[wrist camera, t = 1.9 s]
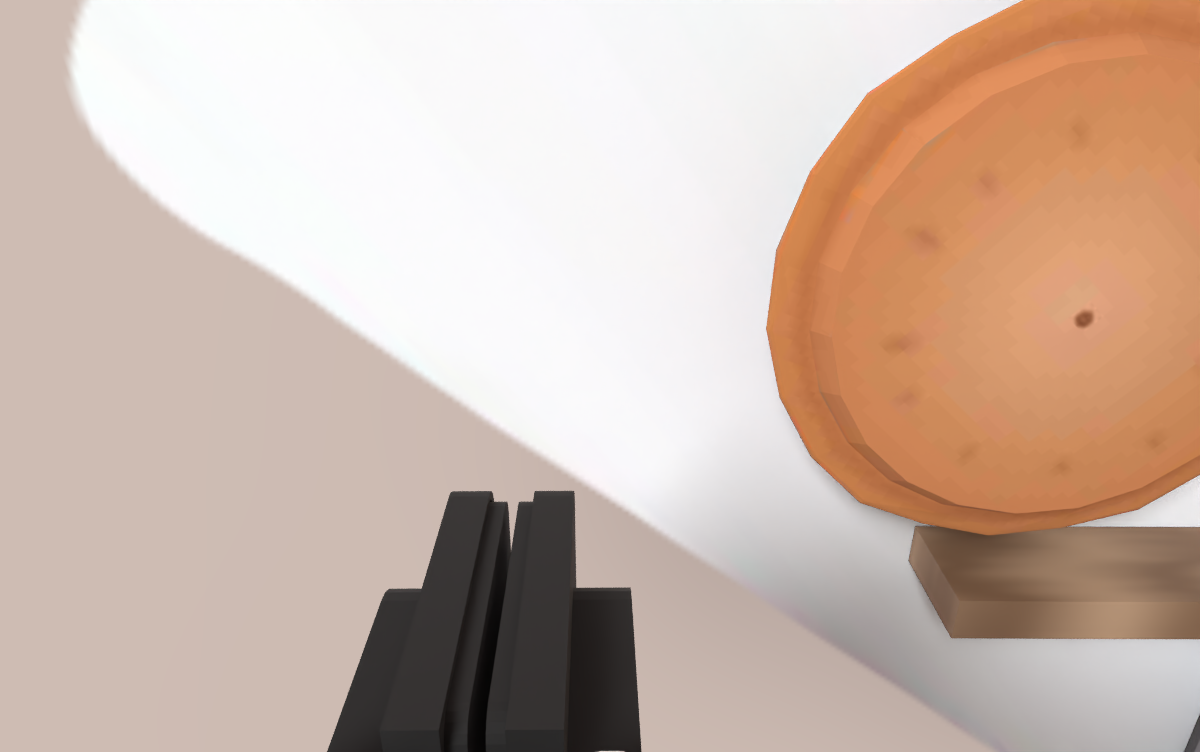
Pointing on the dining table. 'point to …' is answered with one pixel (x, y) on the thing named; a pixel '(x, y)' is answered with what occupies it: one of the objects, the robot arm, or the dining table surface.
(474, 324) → the dining table surface
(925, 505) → the pie
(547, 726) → the robot arm
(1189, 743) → the grey tray
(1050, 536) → the channel walls
